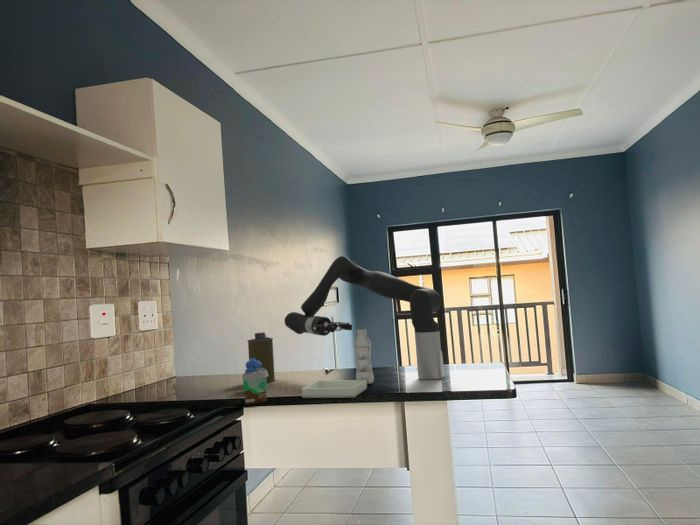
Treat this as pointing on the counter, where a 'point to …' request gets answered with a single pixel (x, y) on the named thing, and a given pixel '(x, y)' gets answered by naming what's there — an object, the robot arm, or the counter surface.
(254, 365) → the grapes
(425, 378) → the robot arm
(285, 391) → the counter surface
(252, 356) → the canister
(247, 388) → the food container
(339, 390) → the tray
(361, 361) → the plastic bottle
